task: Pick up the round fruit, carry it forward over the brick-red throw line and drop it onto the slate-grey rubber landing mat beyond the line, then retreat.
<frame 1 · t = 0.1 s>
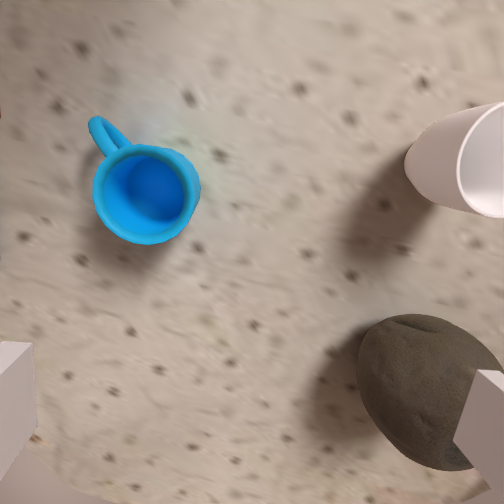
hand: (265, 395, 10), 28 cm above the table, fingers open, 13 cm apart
dark grey round stone: (390, 345, 43), on the table
mug: (149, 172, 35), on the table
mug 2: (432, 150, 37), on the table
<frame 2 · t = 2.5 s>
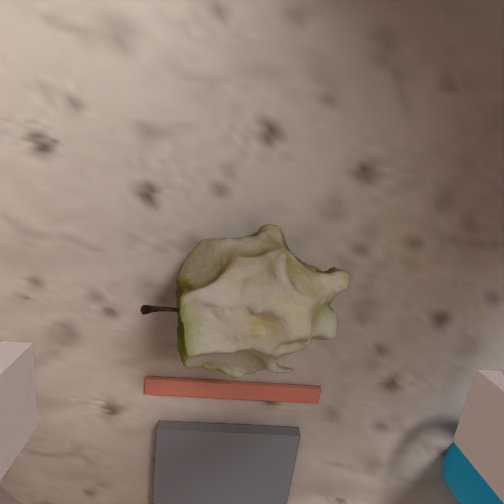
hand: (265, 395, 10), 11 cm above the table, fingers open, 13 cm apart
fruit: (249, 282, 21), on the table
landing mat: (221, 487, 26), on the table
throw line: (234, 388, 23), on the table
mug: (479, 442, 27), on the table
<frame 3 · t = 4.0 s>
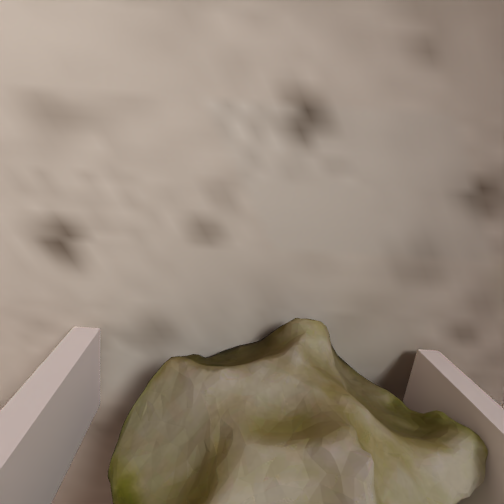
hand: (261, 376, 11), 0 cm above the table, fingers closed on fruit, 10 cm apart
fruit: (262, 406, 12), on the table, touching gripper
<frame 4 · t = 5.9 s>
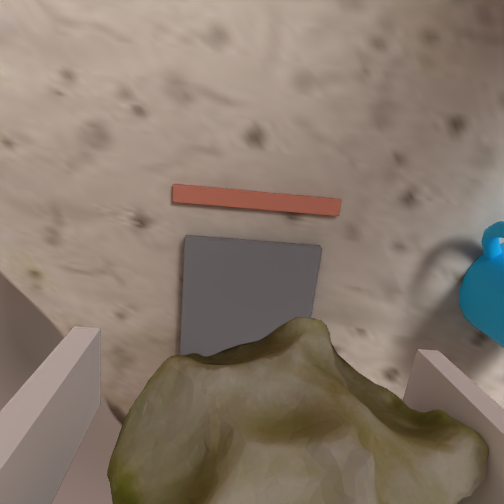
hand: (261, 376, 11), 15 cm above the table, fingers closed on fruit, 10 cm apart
fruit: (262, 405, 12), point 14 cm above the table, touching gripper
landing mat: (246, 313, 27), on the table
throw line: (258, 200, 24), on the table
mug: (495, 270, 27), on the table
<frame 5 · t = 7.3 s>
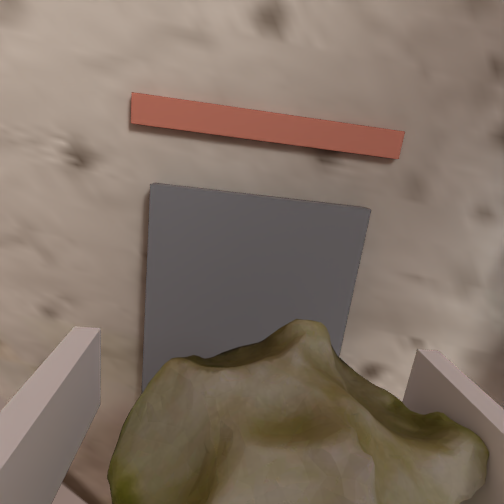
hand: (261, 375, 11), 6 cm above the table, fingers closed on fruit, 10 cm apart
fruit: (262, 407, 12), point 6 cm above the table, touching gripper
landing mat: (247, 311, 17), on the table
throw line: (271, 128, 15), on the table
when the fingers open (3 cm above the table, at t = 8.4 s): fruit drops 2 cm, resting on landing mat.
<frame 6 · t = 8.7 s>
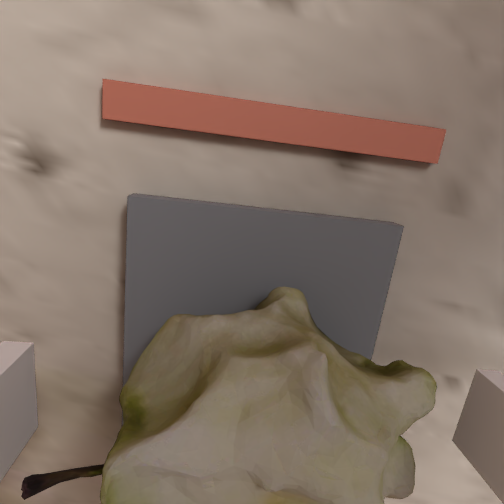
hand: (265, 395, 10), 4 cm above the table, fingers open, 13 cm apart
fruit: (252, 377, 13), point 1 cm above the table, touching landing mat
landing mat: (250, 348, 14), on the table
throw line: (280, 124, 12), on the table
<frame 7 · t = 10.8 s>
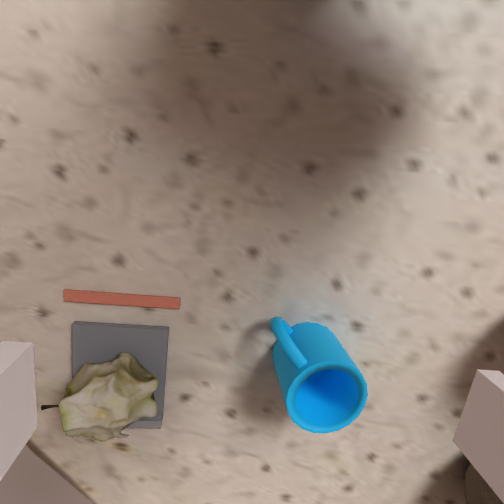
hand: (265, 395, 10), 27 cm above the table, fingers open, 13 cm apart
fruit: (119, 382, 38), point 1 cm above the table, touching landing mat
landing mat: (121, 371, 39), on the table
dark grey round stone: (485, 465, 49), on the table
throw line: (123, 298, 36), on the table
mug: (296, 341, 40), on the table
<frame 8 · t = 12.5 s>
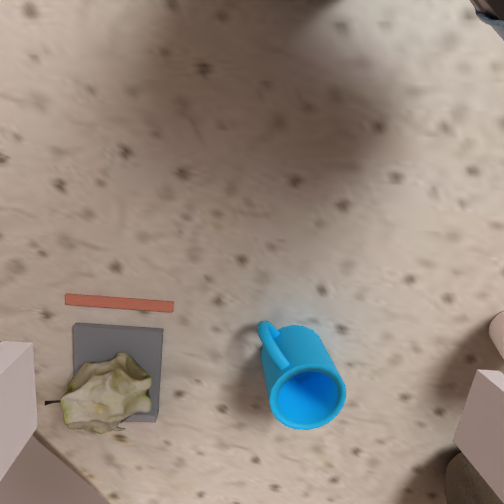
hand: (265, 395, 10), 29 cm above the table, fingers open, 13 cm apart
fruit: (117, 379, 41), point 1 cm above the table, touching landing mat
landing mat: (119, 369, 41), on the table
dark grey round stone: (466, 461, 51), on the table
throw line: (120, 302, 39), on the table
mug: (283, 342, 43), on the table
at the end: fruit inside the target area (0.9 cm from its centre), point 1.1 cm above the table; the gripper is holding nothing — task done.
